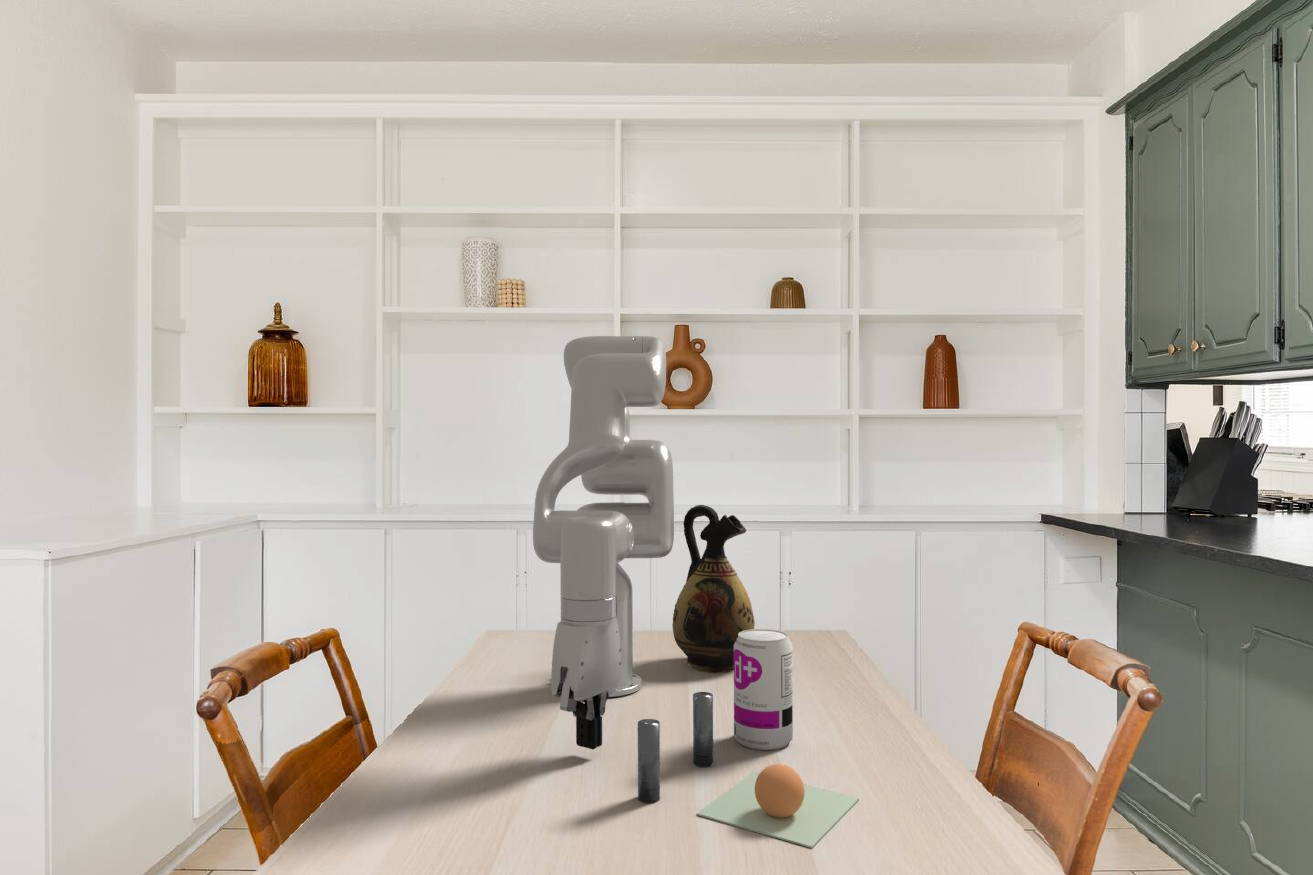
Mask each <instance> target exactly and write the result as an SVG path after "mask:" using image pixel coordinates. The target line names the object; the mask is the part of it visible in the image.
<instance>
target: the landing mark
mask: <svg viewBox="0 0 1313 875" xmlns="http://www.w3.org/2000/svg"><path fill="white" fill-rule="evenodd" d="M759 774H760V772H756V771H752V772H751V773H750V774H748V775H747V776H745V777H744V778H743V779H741V780H740V781H738V782H737V783H736V784H735V785H733V786H732V787H730V788H729V789H728V790H727V791H725V792H723V793H722V794H721V795H720V796H718V797H717V798H716V799H714V800H713V801H712V802H710V803H709V804H708V805H706V806H705V807H703V808H702V809H701V810H699V811H697V813H696V816H700V817H702V818H706V819H709V820H712V821H716V822H720V823H723V824H726V825H730V826H733V827H737V828H740V829H744V830H747V831H751V832H754V833H758V834H762V835H764V836H767V837H772V838H775V839H779V840H782V841H786V842H789V843H792V844H796V845H800V846H802V847H806V848H810V849H813V848H814V847H815V846H816V845H817V844H818V843H819V842H820V841H821V840H822V839H823V838H824V837H825V836H826V835H827V834H828V833H829V832H830V831H831V829H832V828H834V827H835V825H836V824H838V822H840V820H841V819H842V818H843V817H844V816H845V815H846V814H847V813H848V812H849V811H850V810H851V809H852V808H853V807H854V806H855V804H857V803H858V801H860V797H857V796H854V795H851V794H850V795H849V794H846V793H841V792H838V791H835V790H834V791H833V790H829V789H825V788H821V787H816V786H813V785H808V784H805V783H803V785H804V791H805V793H804V800H803V803H802V805H801V807H800V808H799V809H798V811H797V812H795V813H794V814H793V815H791V816H788V817H784V818H779V817H774V816H771V815H769V814H767V813H766V812H765V811H764V810H763V809H762V808H761V807H760V805H759V804H758V802H757V799H756V796H755V782H756V779H757V777H758V775H759Z"/></svg>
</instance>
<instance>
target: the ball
mask: <svg viewBox="0 0 1313 875" xmlns="http://www.w3.org/2000/svg"><path fill="white" fill-rule="evenodd" d="M759 773H760V774H759V775H758V777H757V779H756V782H755V796H756V799H757V802H758V804H759V805H760V807H761V808H762V809H763V810H764V811H765V812H766V813H767V814H769V815H771V816H774V817H779V818H784V817H788V816H791V815H793V814H794V813H795V812H797V811H798V809H799V808H800V807H801V805H802V803H803V800H804V793H805V791H804V785H803V784H804V782H803V779H802V778H801V776H800V774H799V773H798V772H797V771H796V770H795V769H793V768H792V767H790V766H788V765H786V764H783V763H782V764H780V763H776V764H770V765H768V766H767V767H764V769H762V770H761V771H760V772H759Z"/></svg>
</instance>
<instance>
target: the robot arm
mask: <svg viewBox="0 0 1313 875" xmlns="http://www.w3.org/2000/svg"><path fill="white" fill-rule="evenodd" d="M563 364H564V370H565V375H566V377H567V381H568V384H569V386H570V388H571V391H570V395H571V396H570V412H569V414H570V415H569V431H568V443H567V445H566V447H565V448H564V449H563V450H562V451H561V452H560V453H559V454H558V455H557V456H556V457H555V458H554V459H553V460H552V462H550V464H549V465H548V466H547V468H546V469H545V471H544V473H543V474H542V476H541V479H540V481H539V483H538V486H537V488H536V489H537V490H536V492H535V499H534V500H535V501H534V509H533V510H534V511H533V512H534V513H533V524H532V526H533V527H532V545H533V550H534V553H535V555H536V556H537V557H538V559H540V560H541V561H543V562H544V563H550V564H559V565H560V570H559V571H560V621H559V622H557V625H556V628H555V629H556V630H555V633H554V638H553V639H554V640H553V645H552V646H553V647H552V658H551V659H552V660H551V672H550V673H551V676H550V677H551V678H550V679H551V680H550V684H551V685H550V686H551V694H552V696H554V697H560V703H559V710H561V711H564V712H568V713H572V716H573V717H574V718H575V732H576V733H575V736H576V737H575V741H576V745H577V746H578V747H582V748H585V749H590V750H595V749H597V748H599V747H601V746H602V745H603V716H604V714H605V713H606V704H607V702H608V699H609V698H615V697H622V696H626V695H630V694H633V693H636V692H637V691H640V689H641V688H642V687H643V682H642V678H641V676H639V675H638V674H635V673H634V667H633V666H634V658H633V657H634V653H633V652H634V650H633V649H634V648H633V646H634V640H633V638H634V635H633V634H634V633H633V632H634V631H633V629H634V627H633V623H634V621H633V620H634V619H633V618H634V617H633V616H634V615H633V611H634V610H633V608H634V607H633V604H634V603H633V592H634V591H633V583H632V581H631V578H630V575H629V574H628V573H627V572H626V571H625V569H624V568H623V567H622V566H621V565H620V562H623V560H625V559H660V558H665V557H666V556H668V555H669V554H670V553H671V552H672V549H673V545H674V539H675V538H674V537H675V515H674V512H675V510H674V508H675V506H674V505H675V504H674V500H675V499H674V498H675V497H674V469H673V468H674V466H673V457H672V454H671V451H670V448H669V447H668V445H667V444H665V443H664V442H662V441H661V440H654V439H631V435H630V429H631V428H630V419H631V417H630V411H629V409H628V408H644V407H645V408H653V407H656V406H658V405H659V404H661V403H662V401H663V399H664V395H665V392H666V385H667V352H666V349H665V345H664V343H663V341H662V340H661V339H660V338H658V337H655V336H648V335H619V336H618V335H613V336H612V335H596V336H594V335H593V336H592V335H591V336H583V337H578V338H574V339H572V340H570V341H568V342H567V343H566V345H565V346H564V349H563ZM579 476H581V482H582V485H583V487H584V489H585V490H586V491H587V492H589V493H592V494H595V495H609V496H610V495H611V496H612V495H613V496H614V495H620V496H622V495H623V496H624V495H625V496H628V495H629V496H633V495H639V496H644V497H645V498H646V499H647V501H648V502H618V501H617V502H592V503H588V504H585V505H583V506H581V507H579V508H578V509H576V510H555V507H556V501H557V498H558V495H559V493H560V492H561V490H563V488H564V487H565V486H567V484H568V483H570V482H571V481H573V480H574V479H576V478H578V477H579Z"/></svg>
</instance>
